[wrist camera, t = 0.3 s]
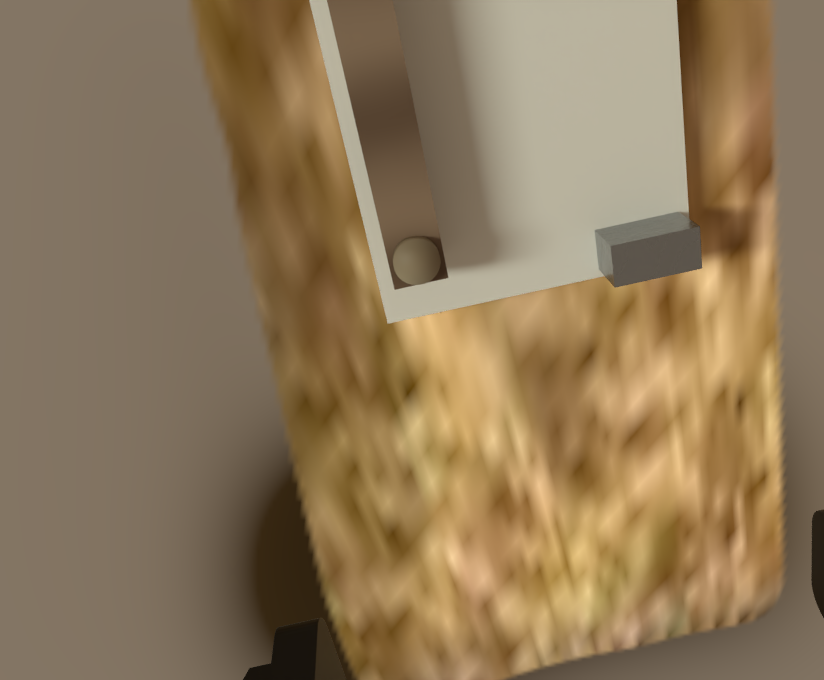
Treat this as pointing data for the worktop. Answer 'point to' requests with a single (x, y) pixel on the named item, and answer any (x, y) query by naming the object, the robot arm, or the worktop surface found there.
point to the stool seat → (527, 137)
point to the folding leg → (389, 138)
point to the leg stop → (648, 249)
